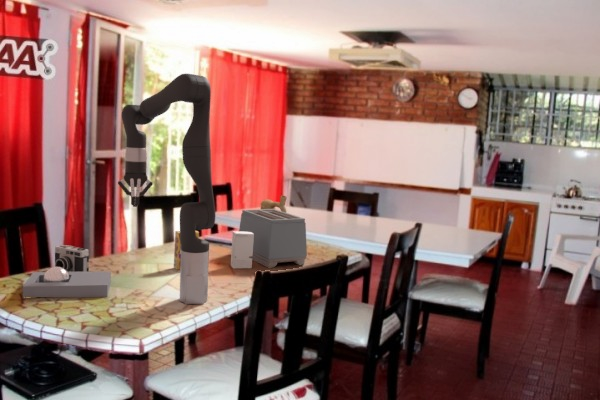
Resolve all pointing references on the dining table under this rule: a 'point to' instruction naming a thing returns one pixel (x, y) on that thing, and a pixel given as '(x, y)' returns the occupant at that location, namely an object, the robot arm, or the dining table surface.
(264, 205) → the tan irregular piece
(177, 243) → the candy box
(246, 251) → the skincare box
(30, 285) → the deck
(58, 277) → the ball
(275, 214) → the toaster
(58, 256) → the camera
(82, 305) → the dining table surface
